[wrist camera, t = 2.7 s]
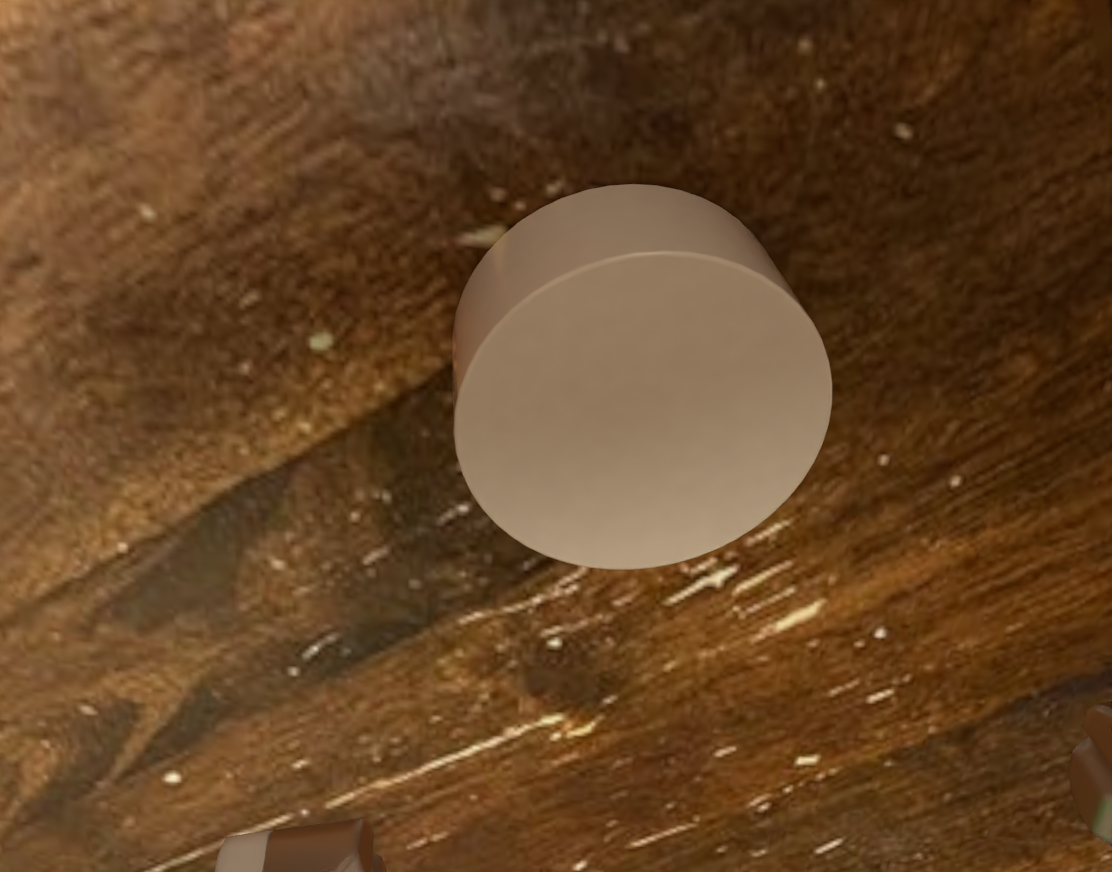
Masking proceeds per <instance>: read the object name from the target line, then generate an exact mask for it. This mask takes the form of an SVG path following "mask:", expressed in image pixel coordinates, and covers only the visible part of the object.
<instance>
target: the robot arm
mask: <svg viewBox="0 0 1112 872" xmlns="http://www.w3.org/2000/svg"><path fill="white" fill-rule="evenodd" d="M1082 726H1083V728H1084V729H1085V731H1086V732H1087V734H1088V735H1089V737H1088V738H1087V739H1086V740H1084V741H1083V742H1082V743H1081V744H1080V745H1079V746H1077V747H1076V748H1075V749H1074V750H1073V752H1072V756H1071V760H1070V764H1069V767H1068V773H1069V780H1070V786H1071V793H1072V795H1073V798H1074V800H1075V803H1076V805H1077V808H1078V810H1079V813H1080V814H1081V816H1082V818H1083V819H1084V821H1085V823H1086V824H1087V826H1088V828H1089V829H1090V831H1091V833H1092V834H1094V835H1095V836H1097V837H1098V838H1100V839H1101V840H1103V841H1104V842H1106V843H1107V844H1109V845H1111V846H1112V701H1110V702H1104V703H1099V704H1095V705H1094V706H1092V707H1091V708H1089V709H1088V710H1087V711H1086V714H1085V717H1084V720H1083V722H1082ZM373 837H374V834H373V831H372V829H371V826H370V824H369V821H368V819H367V817H363V818H356V819H349V820H342V821H335V822H328V823H321V824H314V825H307V826H300V827H293V828H286V829H279V830H268V831H261V832H255V833H249V834H242V835H236V836H230V837H226V839H225V841H224V843H223V845H222V848H221V850H220V852H219V854H218V858H217V863H216V869H215V872H386V868H385V865H384V862H383V859H382V857H380V856H379V855H377V854H375V853H373Z"/></svg>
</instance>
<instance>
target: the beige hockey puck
mask: <svg viewBox="0 0 1112 872" xmlns="http://www.w3.org/2000/svg"><path fill="white" fill-rule="evenodd" d="M452 380H453V431H454V441H455V450H456V455H457V459H458V462H459V466H460V469H461V473H462V475H463V477H464V479H465V481H466V483H467V486H468V488H469V490H470V492H471V493H472V495H473V496H474V498H475V499H476V501H477V502H478V504H479V505H480V507H481V508H482V509H483V510H484V511H485V512H486V513H487V515H488V516H489V517H490V518H491V519H492V520H493V521H494V522H495V523H496V524H497V525H498V526H499V527H500V528H502V529H503V530H504V531H505V532H506V533H508V534H509V535H510V536H511V537H513V538H514V539H516V540H518V541H519V542H521V543H522V544H524V545H525V546H527V547H529V548H531V549H533V550H535V551H537V552H539V553H541V554H544V555H546V556H548V557H551V558H554V559H557V560H560V561H563V562H566V563H571V564H575V565H580V566H584V567H591V568H600V569H609V570H633V569H644V568H654V567H659V566H664V565H670V564H675V563H678V562H682V561H685V560H689V559H692V558H696V557H698V556H701V555H703V554H706V553H708V552H711V551H714V550H716V549H718V548H720V547H722V546H724V545H726V544H728V543H730V542H732V541H734V540H736V539H738V538H739V537H741V536H742V535H744V534H745V533H747V532H749V531H750V530H752V529H753V528H755V527H756V526H758V525H759V524H760V523H761V522H763V521H764V520H765V519H766V518H768V517H769V516H770V515H771V514H773V513H774V512H775V511H776V510H777V509H778V508H779V507H780V506H781V505H782V504H783V503H784V502H785V501H786V500H787V499H788V498H789V497H790V496H791V494H792V493H793V492H794V491H795V489H796V488H797V487H798V486H799V484H800V483H801V482H802V481H803V479H804V477H805V476H806V474H807V473H808V471H809V469H810V468H811V466H812V465H813V463H814V461H815V459H816V457H817V455H818V452H819V450H820V448H821V446H822V444H823V441H824V437H825V434H826V431H827V428H828V425H829V419H830V412H831V406H832V376H831V369H830V363H829V359H828V356H827V352H826V349H825V346H824V343H823V340H822V338H821V337H820V335H819V333H818V331H817V329H816V327H815V325H814V323H813V321H812V320H811V318H810V317H809V315H808V314H807V312H806V311H805V309H804V308H803V306H802V305H801V303H800V302H799V300H798V299H797V297H796V296H795V294H794V293H793V291H792V290H791V288H790V287H789V285H788V284H787V282H786V280H785V279H784V277H783V276H782V274H781V273H780V271H779V270H778V268H777V267H776V265H775V264H774V262H773V261H772V259H771V258H770V256H769V255H768V253H767V252H766V250H765V249H764V247H763V246H762V245H761V244H760V242H759V241H758V240H757V238H756V237H755V236H754V234H753V233H752V232H751V231H750V230H749V229H748V228H747V227H746V226H744V225H743V224H742V223H741V222H740V221H739V220H738V219H737V218H735V217H734V216H733V215H731V214H730V213H728V212H727V211H726V210H724V209H723V208H721V207H719V206H717V205H716V204H714V203H712V202H710V201H708V200H706V199H704V198H702V197H699V196H696V195H693V194H690V193H687V192H684V191H682V190H678V189H673V188H667V187H662V186H657V185H641V184H626V185H611V186H605V187H600V188H595V189H589V190H585V191H582V192H579V193H576V194H573V195H570V196H567V197H563V198H561V199H559V200H557V201H555V202H553V203H550V204H548V205H546V206H544V207H542V208H540V209H538V210H537V211H535V212H534V213H532V214H530V215H529V216H527V217H526V218H524V219H523V220H521V221H520V222H518V223H517V224H516V225H515V226H514V227H512V228H511V229H510V230H509V231H508V232H506V233H505V234H504V235H503V236H502V237H501V238H500V239H499V240H498V241H497V242H496V243H495V244H494V245H493V246H492V247H491V248H490V250H489V251H488V252H487V253H486V254H485V256H484V257H483V258H482V260H481V261H480V263H479V264H478V265H477V267H476V268H475V270H474V271H473V273H472V275H471V277H470V279H469V281H468V283H467V285H466V287H465V288H464V290H463V293H462V296H461V299H460V302H459V305H458V308H457V311H456V316H455V321H454V326H453V336H452Z"/></svg>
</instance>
